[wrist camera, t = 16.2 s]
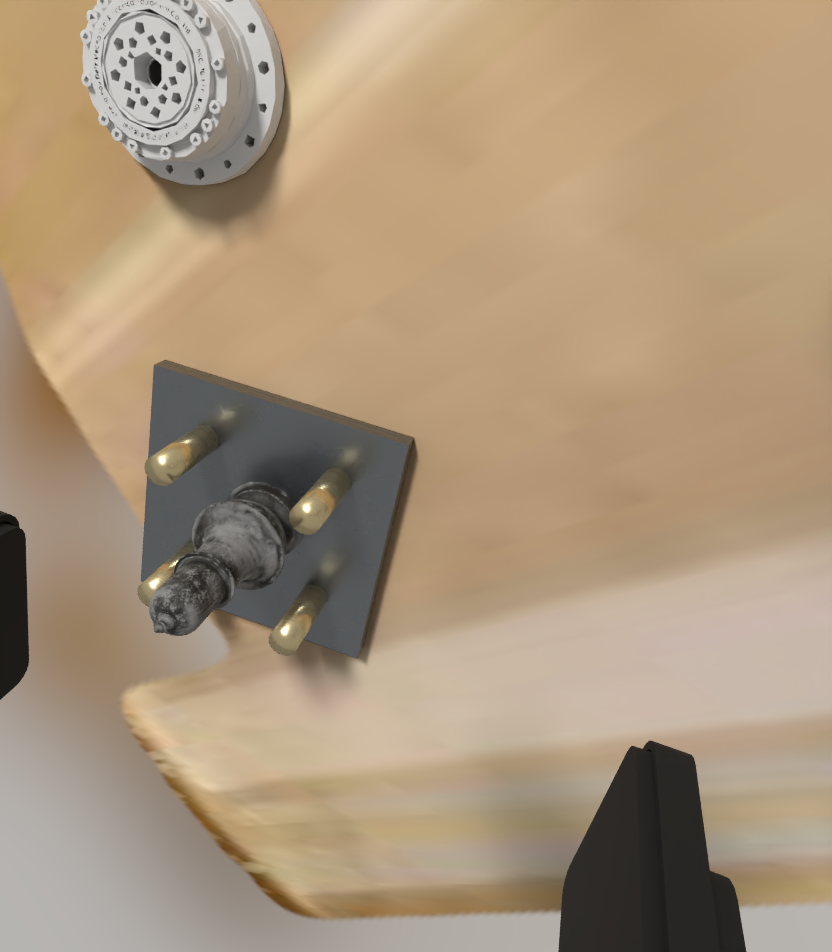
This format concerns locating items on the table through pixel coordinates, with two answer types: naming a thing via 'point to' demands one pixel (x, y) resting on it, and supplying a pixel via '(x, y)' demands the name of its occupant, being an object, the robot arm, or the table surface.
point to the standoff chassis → (298, 475)
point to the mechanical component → (185, 83)
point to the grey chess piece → (227, 556)
